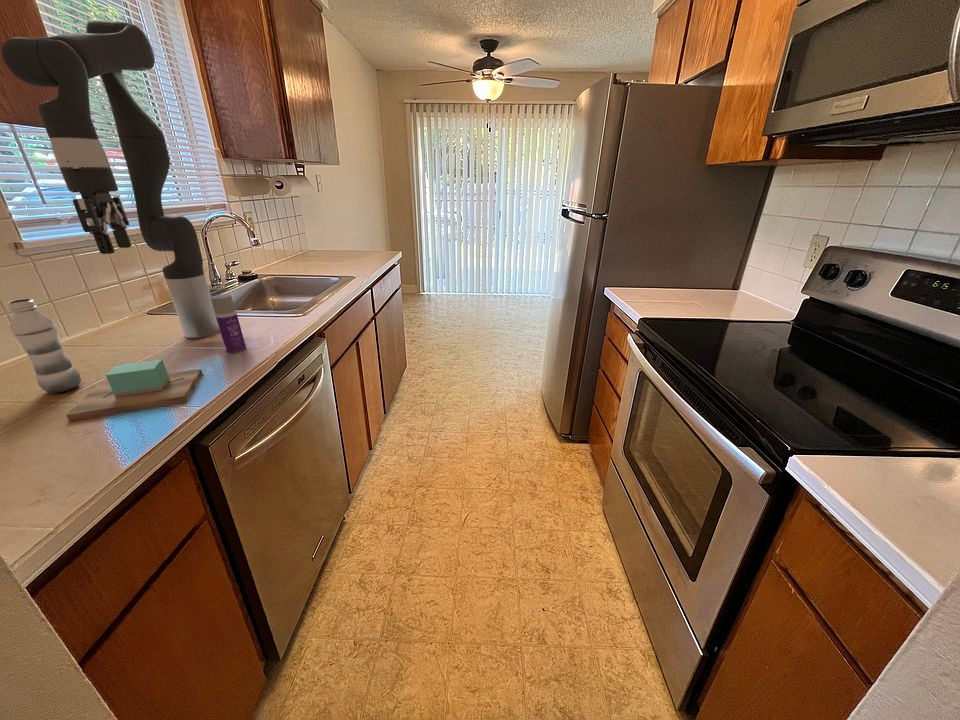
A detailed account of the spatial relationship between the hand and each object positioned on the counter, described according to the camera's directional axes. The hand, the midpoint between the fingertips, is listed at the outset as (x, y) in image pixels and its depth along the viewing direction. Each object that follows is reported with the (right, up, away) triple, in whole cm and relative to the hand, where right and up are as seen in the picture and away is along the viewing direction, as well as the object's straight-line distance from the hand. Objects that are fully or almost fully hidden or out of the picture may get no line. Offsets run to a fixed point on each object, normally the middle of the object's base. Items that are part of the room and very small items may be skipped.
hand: (117, 250), depth 85 cm
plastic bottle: (-14, -30, +3) cm, 33 cm away
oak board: (+6, -31, 0) cm, 31 cm away
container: (+12, -21, +22) cm, 33 cm away
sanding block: (+6, -29, -1) cm, 30 cm away
